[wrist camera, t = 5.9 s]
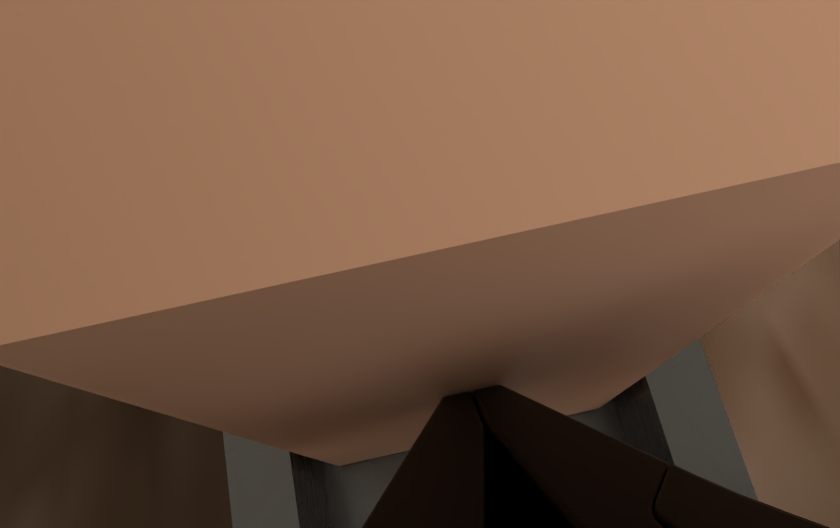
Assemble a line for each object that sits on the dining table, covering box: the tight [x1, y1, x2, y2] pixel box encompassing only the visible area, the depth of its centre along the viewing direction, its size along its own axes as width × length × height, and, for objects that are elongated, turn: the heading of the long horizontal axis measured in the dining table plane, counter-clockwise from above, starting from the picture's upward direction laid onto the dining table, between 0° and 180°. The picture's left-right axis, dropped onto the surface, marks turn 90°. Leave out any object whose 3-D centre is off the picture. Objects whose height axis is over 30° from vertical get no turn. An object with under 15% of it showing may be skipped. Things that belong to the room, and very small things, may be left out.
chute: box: [223, 338, 758, 528], centre depth 16 cm, size 20×9×4 cm, turn 12°
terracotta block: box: [0, 0, 840, 466], centre depth 10 cm, size 6×6×12 cm
